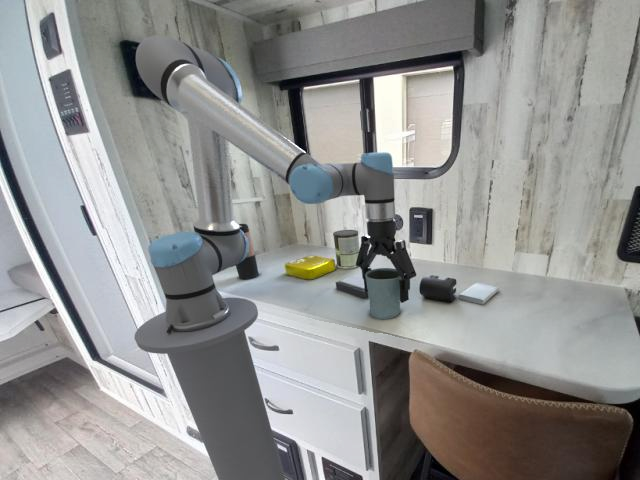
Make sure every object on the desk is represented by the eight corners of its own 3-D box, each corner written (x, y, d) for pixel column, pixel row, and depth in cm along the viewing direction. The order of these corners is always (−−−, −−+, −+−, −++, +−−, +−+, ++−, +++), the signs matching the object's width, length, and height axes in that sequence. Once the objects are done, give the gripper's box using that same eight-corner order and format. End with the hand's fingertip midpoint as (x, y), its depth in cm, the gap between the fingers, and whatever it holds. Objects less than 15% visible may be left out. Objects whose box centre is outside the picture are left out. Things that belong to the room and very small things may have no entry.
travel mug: (234, 279, 119) (220, 227, 111) (247, 272, 126) (235, 223, 118) (251, 280, 117) (238, 227, 109) (263, 273, 124) (252, 223, 116)
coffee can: (331, 266, 130) (327, 233, 124) (347, 260, 138) (344, 228, 132) (350, 270, 125) (347, 235, 119) (365, 263, 133) (363, 230, 127)
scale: (364, 298, 99) (363, 289, 97) (336, 289, 107) (335, 280, 106) (392, 285, 108) (392, 277, 107) (365, 277, 117) (364, 269, 115)
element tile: (310, 280, 115) (308, 268, 113) (284, 274, 123) (281, 263, 121) (337, 269, 127) (336, 258, 125) (312, 264, 134) (310, 253, 132)
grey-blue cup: (361, 312, 90) (358, 273, 85) (388, 301, 96) (386, 265, 91) (383, 324, 83) (380, 282, 78) (410, 312, 89) (409, 273, 84)
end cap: (419, 300, 97) (419, 279, 94) (428, 292, 102) (428, 272, 99) (449, 305, 92) (449, 285, 89) (457, 297, 98) (458, 277, 95)
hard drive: (483, 300, 91) (498, 286, 100) (458, 294, 96) (475, 282, 105) (483, 305, 92) (498, 291, 101) (458, 298, 97) (475, 286, 105)
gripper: (429, 220, 74) (429, 301, 82) (358, 213, 88) (364, 282, 97) (410, 226, 68) (412, 311, 77) (338, 217, 83) (346, 290, 92)
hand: (385, 295), depth 87 cm, fingers open, 13 cm apart
